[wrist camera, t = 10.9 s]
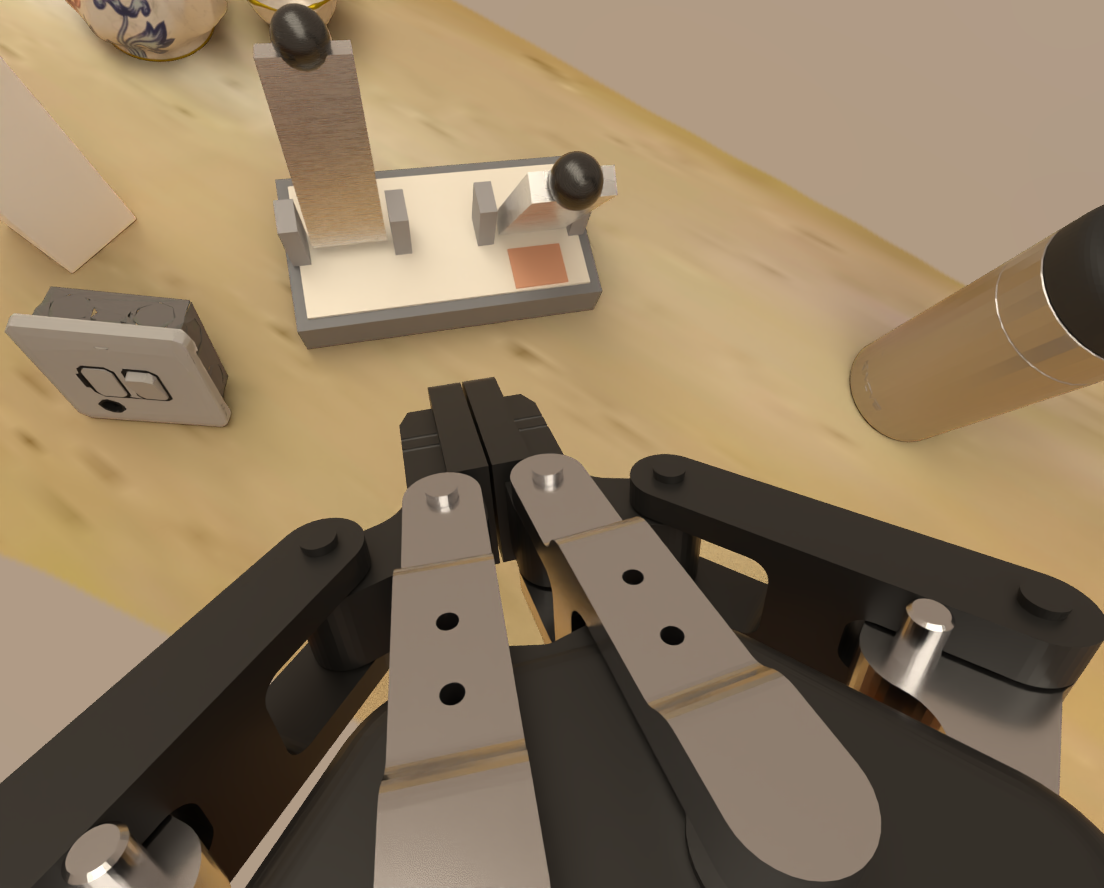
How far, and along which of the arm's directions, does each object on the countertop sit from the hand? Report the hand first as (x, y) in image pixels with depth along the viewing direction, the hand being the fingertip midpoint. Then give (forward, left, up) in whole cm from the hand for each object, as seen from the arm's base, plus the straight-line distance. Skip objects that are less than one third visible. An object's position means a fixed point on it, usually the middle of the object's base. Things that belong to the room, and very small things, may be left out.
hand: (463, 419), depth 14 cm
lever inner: (-8, -22, -26) cm, 35 cm away
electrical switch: (+19, -13, -30) cm, 38 cm away
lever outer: (+5, -21, -26) cm, 34 cm away
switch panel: (-1, -22, -30) cm, 37 cm away
